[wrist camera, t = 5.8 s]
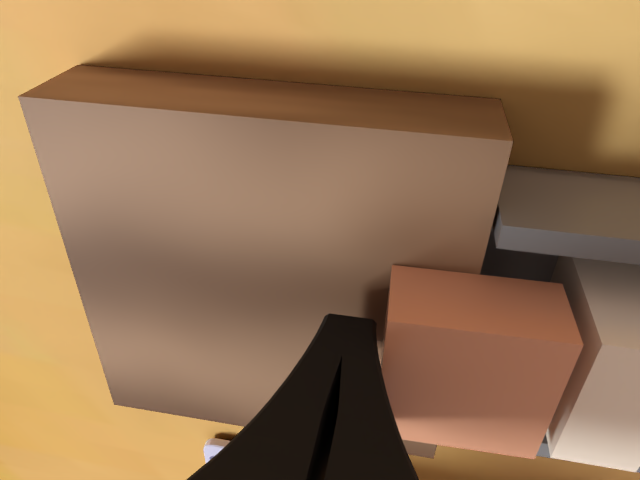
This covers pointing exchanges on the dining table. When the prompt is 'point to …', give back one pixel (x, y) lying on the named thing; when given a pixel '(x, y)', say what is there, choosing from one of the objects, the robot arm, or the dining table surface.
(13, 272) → the dining table surface
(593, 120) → the dining table surface
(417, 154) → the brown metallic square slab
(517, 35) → the dining table surface
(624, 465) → the cream tile
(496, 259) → the tray
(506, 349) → the terracotta tile
